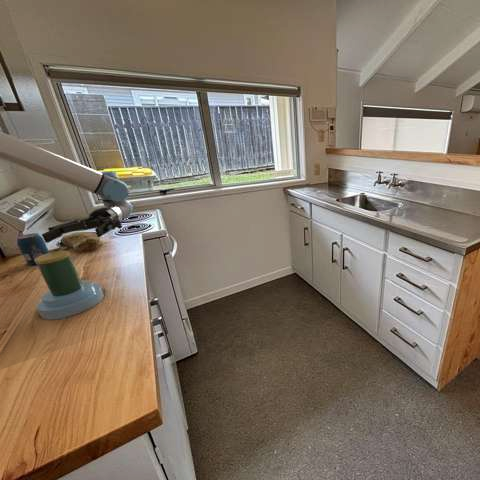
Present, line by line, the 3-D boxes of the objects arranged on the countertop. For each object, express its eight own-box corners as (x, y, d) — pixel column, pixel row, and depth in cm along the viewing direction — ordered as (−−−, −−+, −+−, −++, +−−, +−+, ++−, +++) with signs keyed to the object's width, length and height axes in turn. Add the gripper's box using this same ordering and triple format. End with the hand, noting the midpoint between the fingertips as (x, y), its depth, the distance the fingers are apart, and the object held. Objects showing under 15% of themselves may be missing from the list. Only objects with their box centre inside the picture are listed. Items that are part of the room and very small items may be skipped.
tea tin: (48, 299, 70) (30, 263, 66) (54, 288, 75) (38, 254, 71) (81, 291, 74) (66, 256, 69) (84, 281, 79) (70, 248, 75)
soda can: (42, 259, 107) (29, 232, 103) (57, 259, 107) (45, 232, 102) (23, 267, 101) (9, 239, 97) (40, 267, 100) (26, 238, 96)
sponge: (107, 249, 119) (97, 232, 130) (97, 236, 114) (89, 219, 125) (71, 263, 111) (65, 243, 123) (60, 249, 106) (54, 230, 118)
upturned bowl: (34, 326, 67) (26, 311, 65) (47, 301, 78) (40, 287, 76) (102, 306, 74) (96, 292, 73) (105, 286, 85) (100, 273, 83)
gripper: (145, 222, 102) (122, 241, 83) (71, 230, 96) (27, 252, 77) (140, 204, 99) (114, 219, 80) (63, 210, 93) (15, 228, 74)
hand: (71, 235), depth 78 cm, fingers open, 13 cm apart
